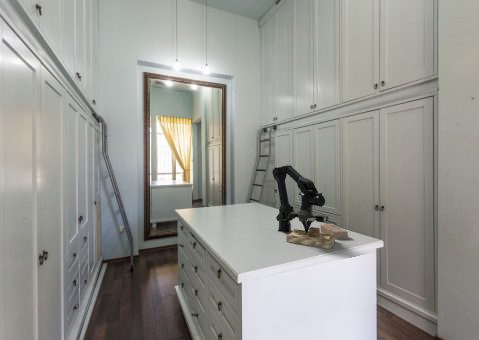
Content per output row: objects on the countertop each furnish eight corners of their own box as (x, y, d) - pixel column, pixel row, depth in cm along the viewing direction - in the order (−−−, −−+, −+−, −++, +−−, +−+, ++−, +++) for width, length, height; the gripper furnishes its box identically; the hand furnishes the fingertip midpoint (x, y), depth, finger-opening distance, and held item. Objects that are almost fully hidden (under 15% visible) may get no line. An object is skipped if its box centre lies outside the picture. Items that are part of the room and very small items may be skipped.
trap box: (286, 241, 123) (286, 232, 123) (294, 235, 134) (294, 227, 134) (330, 248, 111) (330, 239, 111) (334, 241, 122) (334, 232, 122)
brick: (349, 239, 127) (349, 230, 127) (334, 239, 126) (334, 231, 126) (332, 230, 143) (332, 223, 143) (319, 231, 142) (319, 223, 142)
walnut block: (309, 236, 123) (309, 228, 123) (311, 234, 127) (311, 226, 127) (317, 237, 121) (317, 230, 121) (319, 235, 124) (319, 228, 124)
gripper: (284, 204, 124) (285, 233, 124) (321, 207, 114) (321, 239, 114) (291, 201, 133) (292, 229, 133) (325, 204, 123) (326, 233, 124)
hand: (306, 232), depth 126 cm, fingers closed
